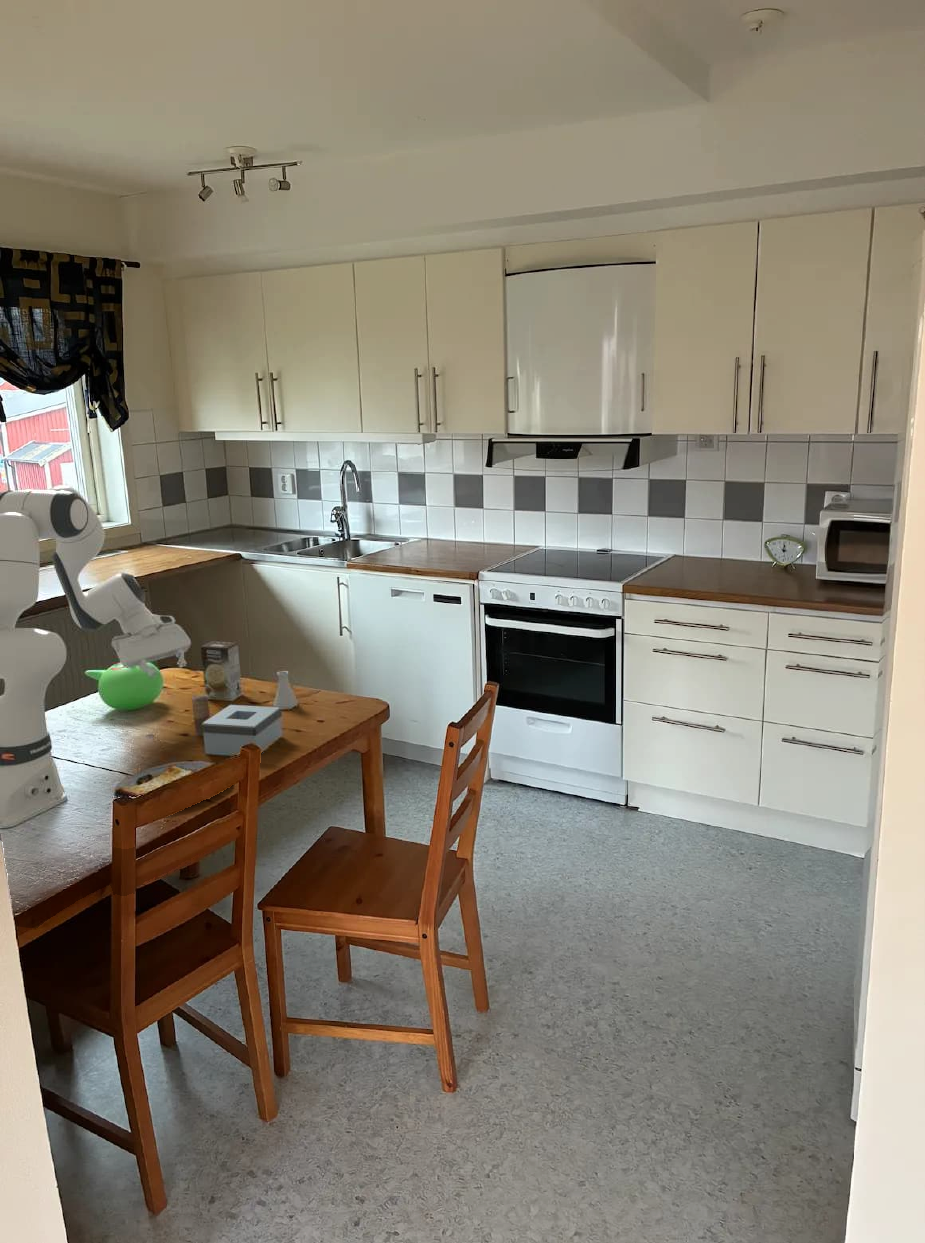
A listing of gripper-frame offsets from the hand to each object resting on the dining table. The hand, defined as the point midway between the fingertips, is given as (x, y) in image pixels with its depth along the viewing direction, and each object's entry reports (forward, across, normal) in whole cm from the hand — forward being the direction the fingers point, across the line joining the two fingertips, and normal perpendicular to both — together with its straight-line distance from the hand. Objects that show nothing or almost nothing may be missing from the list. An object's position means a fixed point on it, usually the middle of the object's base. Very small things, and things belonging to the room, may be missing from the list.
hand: (168, 670), depth 250 cm
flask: (+21, +27, +1) cm, 34 cm away
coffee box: (+5, +23, +17) cm, 29 cm away
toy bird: (-6, +3, +28) cm, 29 cm away
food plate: (+37, -27, -14) cm, 48 cm away
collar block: (+31, 0, -9) cm, 32 cm away
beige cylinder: (+20, 0, +2) cm, 20 cm away
